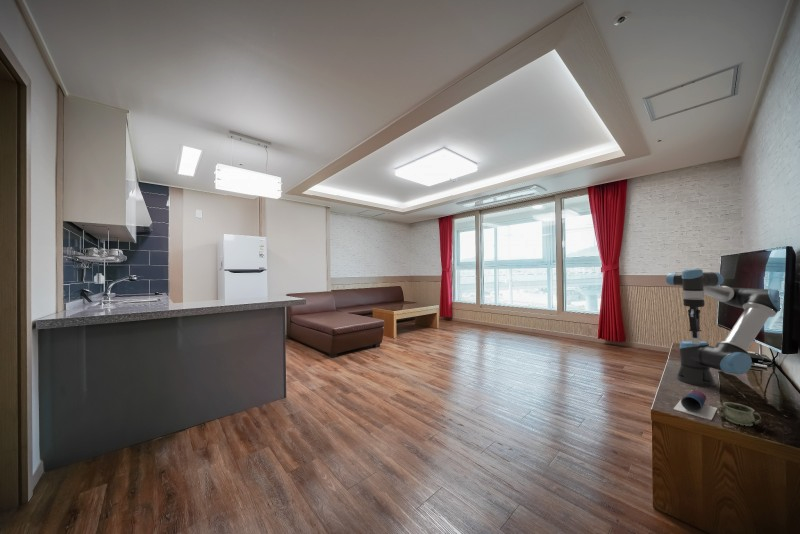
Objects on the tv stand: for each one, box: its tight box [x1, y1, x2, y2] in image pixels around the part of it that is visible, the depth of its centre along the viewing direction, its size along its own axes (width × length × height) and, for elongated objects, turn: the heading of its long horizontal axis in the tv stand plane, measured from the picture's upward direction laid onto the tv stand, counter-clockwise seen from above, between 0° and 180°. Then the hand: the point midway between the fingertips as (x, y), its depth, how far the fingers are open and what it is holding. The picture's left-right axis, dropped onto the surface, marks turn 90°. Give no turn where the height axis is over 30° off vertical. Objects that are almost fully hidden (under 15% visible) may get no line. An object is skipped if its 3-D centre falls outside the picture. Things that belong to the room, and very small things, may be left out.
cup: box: [680, 390, 707, 412], centre depth 131 cm, size 7×7×15 cm
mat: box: [673, 399, 718, 421], centre depth 130 cm, size 16×12×1 cm
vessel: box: [717, 401, 762, 427], centre depth 119 cm, size 12×9×6 cm
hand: (695, 343), depth 144 cm, fingers closed
